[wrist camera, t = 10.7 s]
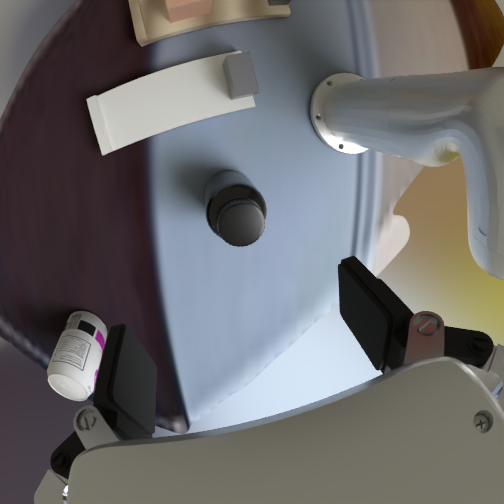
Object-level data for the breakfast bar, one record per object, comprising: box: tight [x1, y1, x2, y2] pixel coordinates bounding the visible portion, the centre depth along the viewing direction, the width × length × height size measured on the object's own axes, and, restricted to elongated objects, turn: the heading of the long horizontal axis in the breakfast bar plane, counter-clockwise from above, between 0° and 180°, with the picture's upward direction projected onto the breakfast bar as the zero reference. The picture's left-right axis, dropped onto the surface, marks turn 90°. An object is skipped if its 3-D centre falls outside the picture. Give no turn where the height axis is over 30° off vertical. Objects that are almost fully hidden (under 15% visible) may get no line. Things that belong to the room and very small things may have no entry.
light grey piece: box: [87, 51, 259, 155], centre depth 27 cm, size 20×8×7 cm, turn 103°
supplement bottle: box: [204, 171, 267, 247], centre depth 32 cm, size 7×7×12 cm
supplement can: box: [47, 311, 107, 401], centre depth 36 cm, size 8×8×15 cm
